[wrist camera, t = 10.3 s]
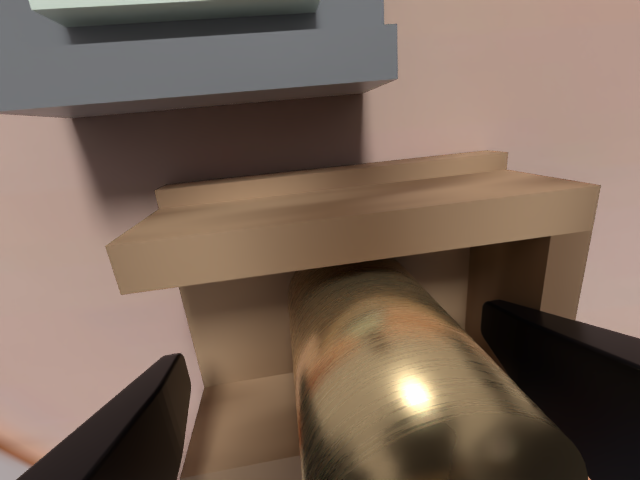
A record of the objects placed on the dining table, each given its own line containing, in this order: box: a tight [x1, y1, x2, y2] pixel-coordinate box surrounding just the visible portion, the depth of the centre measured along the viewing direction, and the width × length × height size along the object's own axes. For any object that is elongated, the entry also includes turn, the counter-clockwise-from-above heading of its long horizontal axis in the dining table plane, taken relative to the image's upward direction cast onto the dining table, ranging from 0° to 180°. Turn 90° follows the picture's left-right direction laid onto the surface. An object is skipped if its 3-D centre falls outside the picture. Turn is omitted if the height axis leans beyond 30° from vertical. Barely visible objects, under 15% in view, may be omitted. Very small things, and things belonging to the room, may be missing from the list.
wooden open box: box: [105, 150, 601, 480], centre depth 10 cm, size 10×8×4 cm
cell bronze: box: [288, 257, 588, 480], centre depth 7 cm, size 4×4×7 cm
